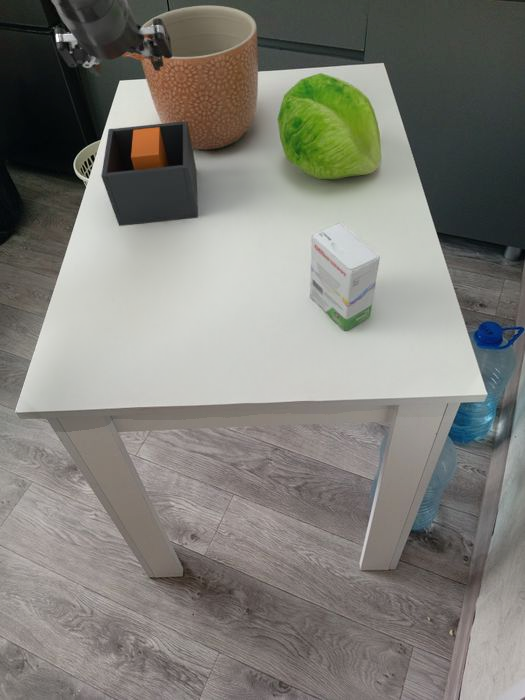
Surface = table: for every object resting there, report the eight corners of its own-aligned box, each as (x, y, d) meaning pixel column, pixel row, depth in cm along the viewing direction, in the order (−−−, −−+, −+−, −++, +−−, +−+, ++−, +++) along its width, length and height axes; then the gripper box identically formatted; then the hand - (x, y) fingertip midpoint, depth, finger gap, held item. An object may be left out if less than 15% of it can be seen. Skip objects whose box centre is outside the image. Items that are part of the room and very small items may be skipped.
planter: (138, 139, 103) (110, 37, 88) (210, 96, 112) (196, -4, 96) (212, 176, 94) (196, 70, 79) (283, 126, 103) (281, 21, 88)
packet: (146, 208, 88) (130, 157, 80) (147, 181, 93) (133, 129, 85) (171, 206, 89) (158, 154, 81) (171, 178, 93) (159, 126, 85)
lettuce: (350, 219, 87) (413, 138, 79) (251, 150, 83) (306, 57, 74) (349, 188, 101) (402, 116, 93) (264, 128, 97) (311, 47, 88)
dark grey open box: (118, 225, 87) (101, 176, 80) (124, 178, 96) (108, 128, 88) (197, 217, 88) (188, 167, 80) (196, 170, 96) (187, 120, 88)
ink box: (371, 316, 73) (383, 255, 63) (344, 332, 71) (351, 272, 62) (334, 281, 77) (339, 219, 68) (308, 295, 76) (309, 234, 66)
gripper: (152, -32, 58) (173, 34, 74) (27, -21, 58) (75, 43, 74) (161, 38, 59) (179, 89, 75) (38, 50, 59) (82, 98, 75)
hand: (127, 66), depth 75 cm, fingers open, 8 cm apart
